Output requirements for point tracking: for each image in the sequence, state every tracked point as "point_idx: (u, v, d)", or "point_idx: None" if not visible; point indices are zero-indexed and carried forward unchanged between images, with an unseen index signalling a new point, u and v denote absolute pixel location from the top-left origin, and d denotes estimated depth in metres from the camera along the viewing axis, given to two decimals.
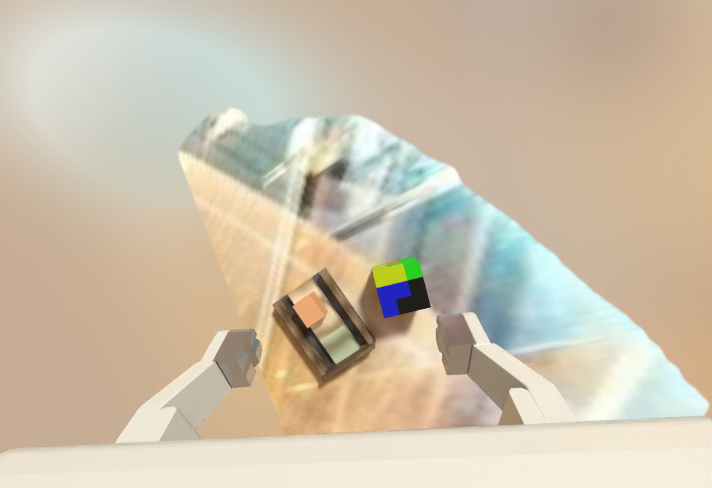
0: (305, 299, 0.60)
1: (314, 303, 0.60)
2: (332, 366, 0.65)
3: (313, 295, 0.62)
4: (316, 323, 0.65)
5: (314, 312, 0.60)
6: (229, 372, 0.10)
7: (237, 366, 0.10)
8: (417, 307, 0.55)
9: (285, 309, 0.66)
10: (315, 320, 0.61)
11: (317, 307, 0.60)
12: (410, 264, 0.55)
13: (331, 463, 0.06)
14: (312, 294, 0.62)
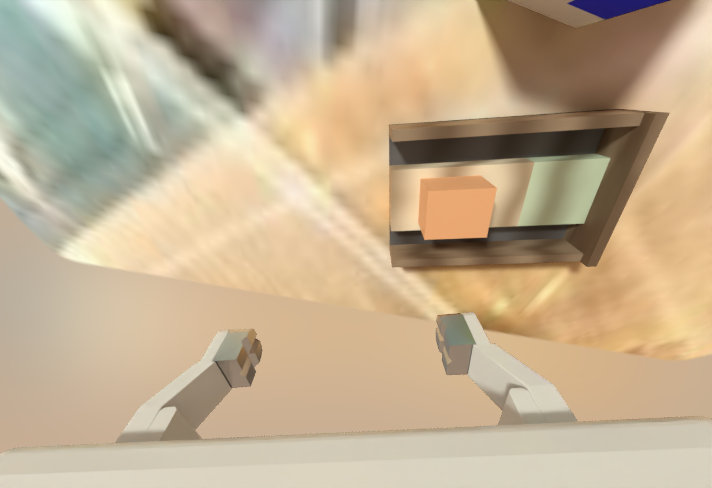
0: (430, 206, 0.24)
1: (454, 193, 0.24)
2: (579, 231, 0.30)
3: (432, 185, 0.25)
4: None
5: (470, 204, 0.24)
6: (229, 372, 0.10)
7: (237, 366, 0.10)
8: None
9: (414, 248, 0.32)
10: (487, 213, 0.24)
11: (467, 191, 0.23)
12: None
13: (331, 463, 0.06)
14: (429, 185, 0.25)
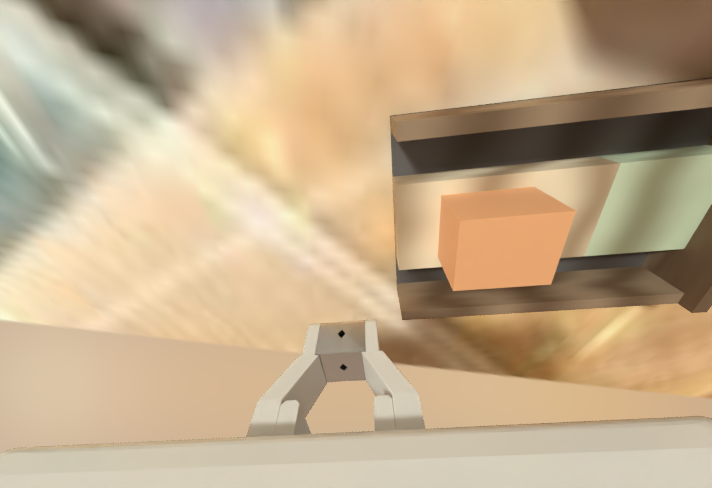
0: (463, 243, 0.15)
1: (503, 222, 0.14)
2: (674, 260, 0.20)
3: (463, 209, 0.16)
4: None
5: (529, 237, 0.15)
6: (329, 366, 0.10)
7: (339, 360, 0.10)
8: None
9: (431, 288, 0.23)
10: (556, 249, 0.15)
11: (526, 218, 0.14)
12: None
13: (331, 463, 0.06)
14: (458, 208, 0.16)
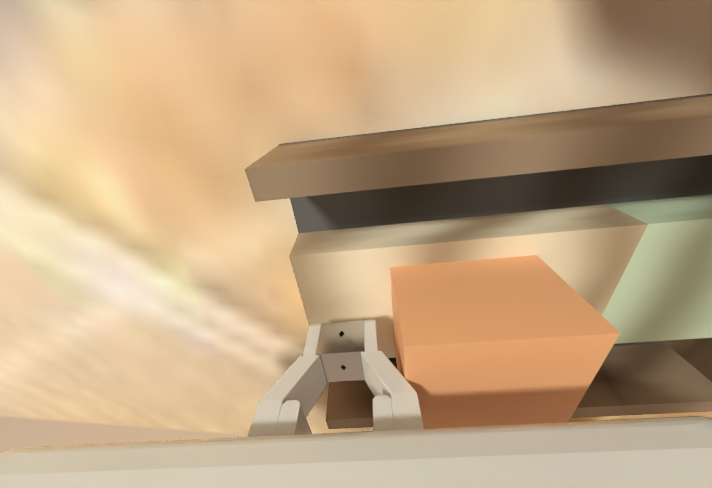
0: (415, 376, 0.08)
1: (484, 349, 0.08)
2: None
3: (417, 308, 0.09)
4: None
5: (530, 368, 0.08)
6: (330, 366, 0.10)
7: (340, 360, 0.10)
8: None
9: None
10: (578, 384, 0.09)
11: (526, 344, 0.08)
12: None
13: (331, 463, 0.06)
14: (409, 307, 0.09)
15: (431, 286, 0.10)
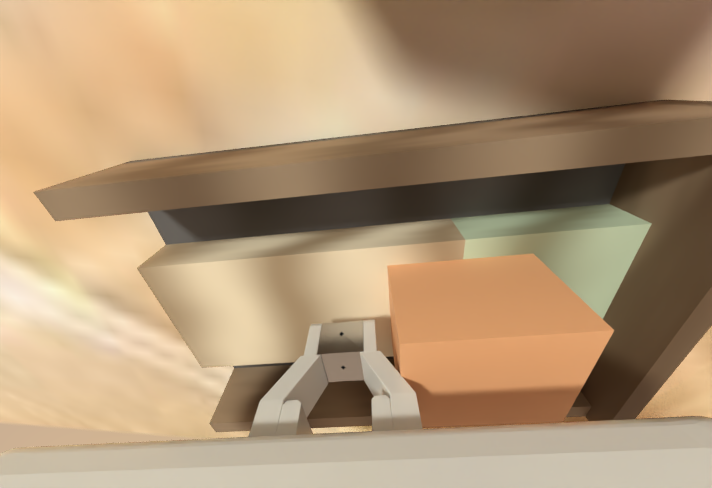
0: (411, 373, 0.09)
1: (479, 347, 0.08)
2: None
3: (413, 306, 0.09)
4: None
5: (525, 366, 0.08)
6: (330, 366, 0.10)
7: (341, 360, 0.10)
8: None
9: (270, 380, 0.17)
10: (574, 382, 0.09)
11: (520, 341, 0.08)
12: None
13: (331, 463, 0.06)
14: (405, 305, 0.09)
15: (427, 284, 0.10)
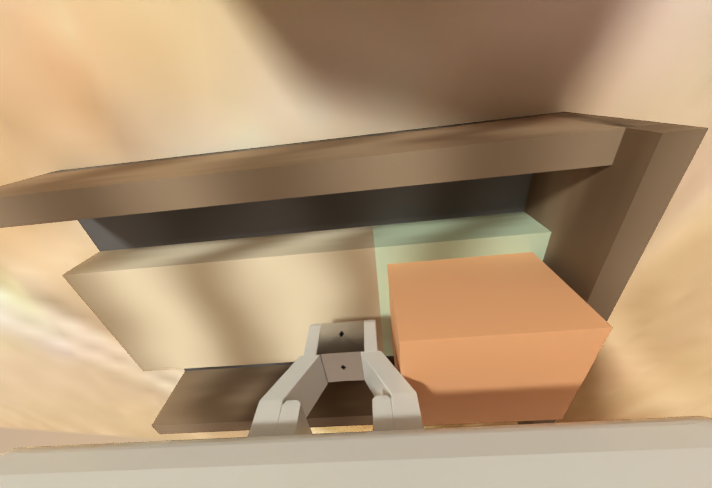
0: (411, 371, 0.09)
1: (478, 344, 0.08)
2: None
3: (413, 304, 0.09)
4: (305, 338, 0.14)
5: (525, 363, 0.08)
6: (330, 366, 0.10)
7: (340, 360, 0.10)
8: None
9: (218, 383, 0.17)
10: (573, 379, 0.09)
11: (519, 338, 0.08)
12: None
13: (331, 463, 0.06)
14: (405, 303, 0.09)
15: (427, 282, 0.10)
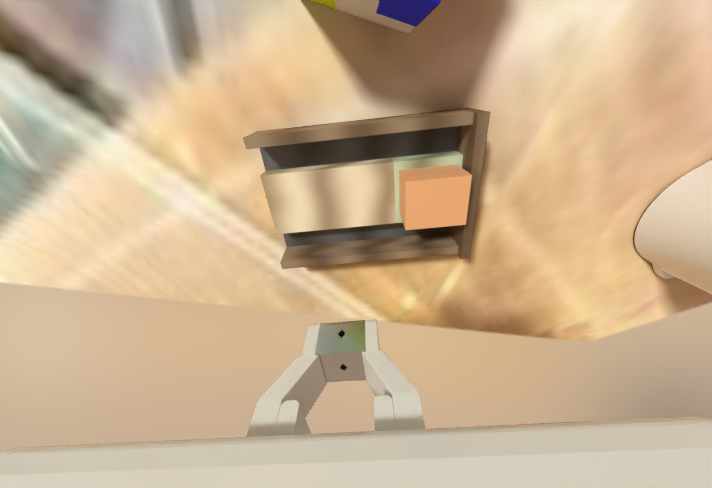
0: (408, 197, 0.25)
1: (431, 183, 0.24)
2: None
3: (409, 176, 0.25)
4: (359, 211, 0.30)
5: (447, 192, 0.24)
6: (329, 366, 0.10)
7: (339, 360, 0.10)
8: None
9: (307, 249, 0.33)
10: (464, 200, 0.25)
11: (443, 180, 0.24)
12: None
13: (331, 463, 0.06)
14: (406, 176, 0.25)
15: (414, 172, 0.26)
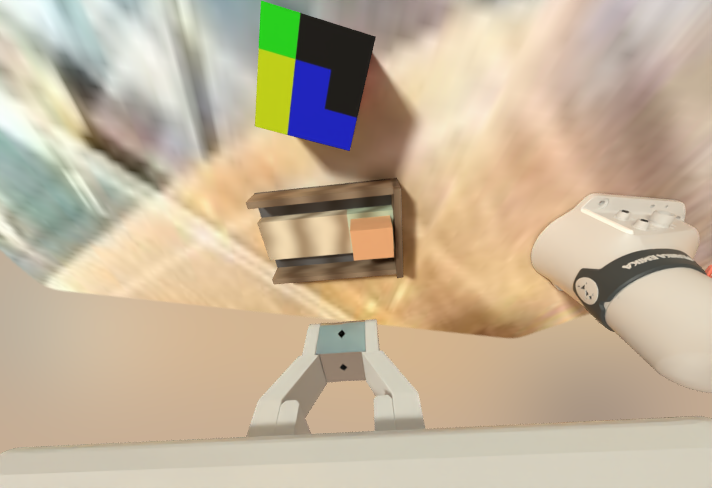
0: (353, 240, 0.38)
1: (366, 232, 0.37)
2: (394, 254, 0.44)
3: (354, 226, 0.38)
4: (326, 245, 0.43)
5: (378, 237, 0.37)
6: (329, 366, 0.10)
7: (339, 360, 0.10)
8: (361, 68, 0.24)
9: (292, 269, 0.47)
10: (390, 242, 0.38)
11: (374, 230, 0.37)
12: (262, 29, 0.23)
13: (331, 463, 0.06)
14: (352, 226, 0.38)
15: (359, 222, 0.39)
